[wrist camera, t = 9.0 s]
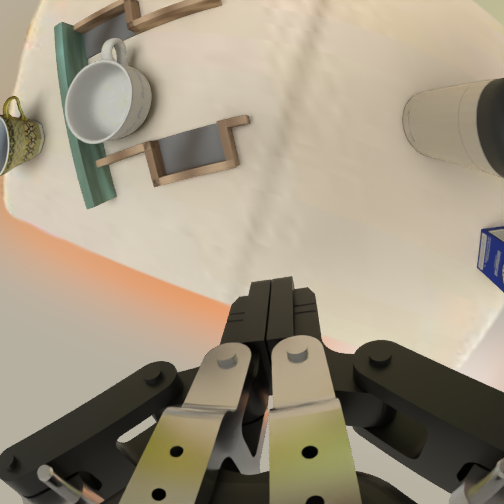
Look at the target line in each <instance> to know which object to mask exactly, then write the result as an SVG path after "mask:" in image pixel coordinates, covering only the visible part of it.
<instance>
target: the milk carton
mask: <svg viewBox="0 0 504 504" xmlns="http://www.w3.org/2000/svg"><path fill="white" fill-rule="evenodd" d="M477 268H478V269H479V270H480V271H481V272H482V273H484V274H485V275H486V276H487V277H488V278H489V279H490V280H491V281H492V282H493V283H494V284H495V285H496V286H498V287H499V288H500V289H501V290H502V291H503V292H504V226H503V227H495V228H488V229H481V240H480V250H479V258H478V265H477Z"/></svg>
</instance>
